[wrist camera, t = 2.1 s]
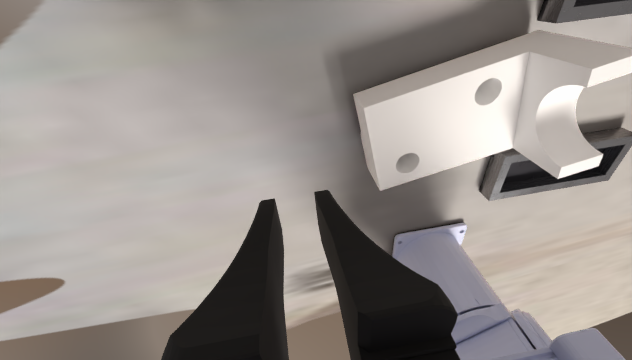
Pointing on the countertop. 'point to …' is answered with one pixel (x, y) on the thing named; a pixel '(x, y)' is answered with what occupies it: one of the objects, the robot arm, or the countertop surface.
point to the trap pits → (527, 177)
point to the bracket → (488, 108)
